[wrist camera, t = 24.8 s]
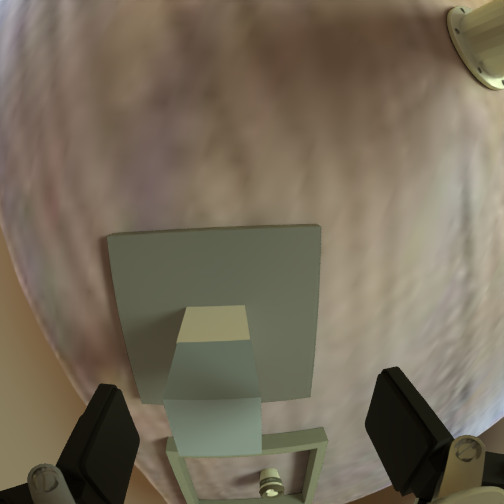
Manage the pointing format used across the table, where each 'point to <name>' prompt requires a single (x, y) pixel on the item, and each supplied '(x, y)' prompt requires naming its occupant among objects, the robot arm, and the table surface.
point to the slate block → (214, 399)
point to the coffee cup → (270, 484)
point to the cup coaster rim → (270, 445)
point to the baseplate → (220, 298)
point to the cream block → (214, 324)
